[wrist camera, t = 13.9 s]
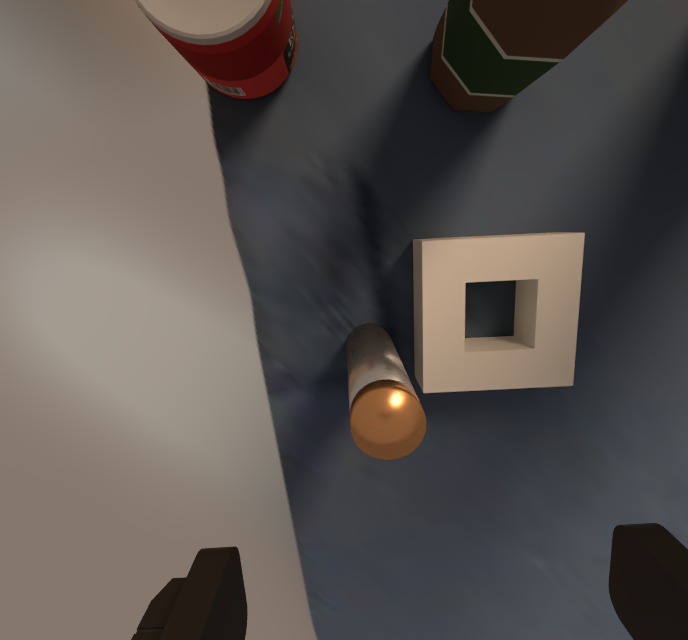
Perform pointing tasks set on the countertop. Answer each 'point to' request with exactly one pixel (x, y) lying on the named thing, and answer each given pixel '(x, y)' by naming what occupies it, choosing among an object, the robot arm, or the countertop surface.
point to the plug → (381, 396)
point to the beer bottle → (506, 45)
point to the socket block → (529, 321)
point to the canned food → (230, 41)
